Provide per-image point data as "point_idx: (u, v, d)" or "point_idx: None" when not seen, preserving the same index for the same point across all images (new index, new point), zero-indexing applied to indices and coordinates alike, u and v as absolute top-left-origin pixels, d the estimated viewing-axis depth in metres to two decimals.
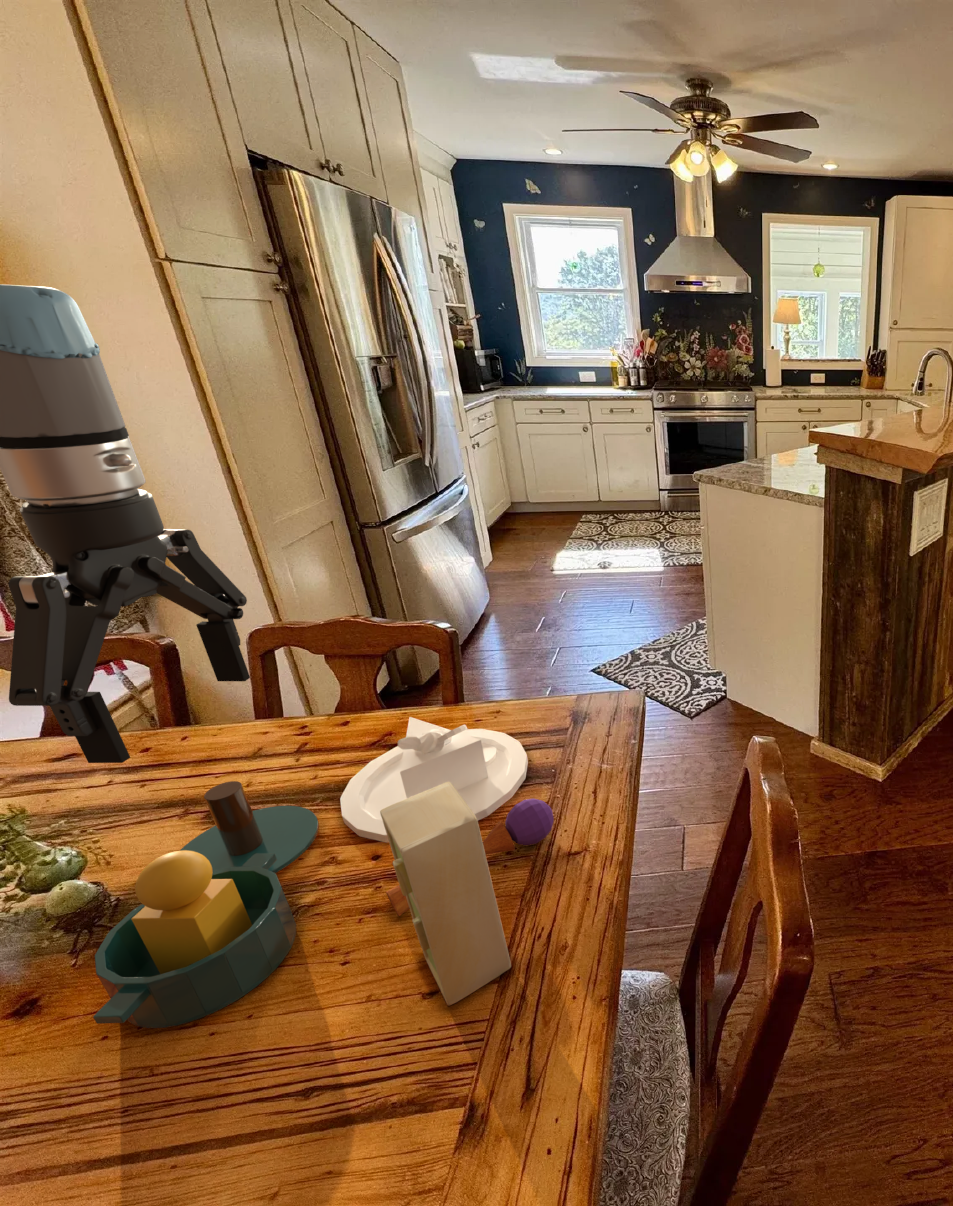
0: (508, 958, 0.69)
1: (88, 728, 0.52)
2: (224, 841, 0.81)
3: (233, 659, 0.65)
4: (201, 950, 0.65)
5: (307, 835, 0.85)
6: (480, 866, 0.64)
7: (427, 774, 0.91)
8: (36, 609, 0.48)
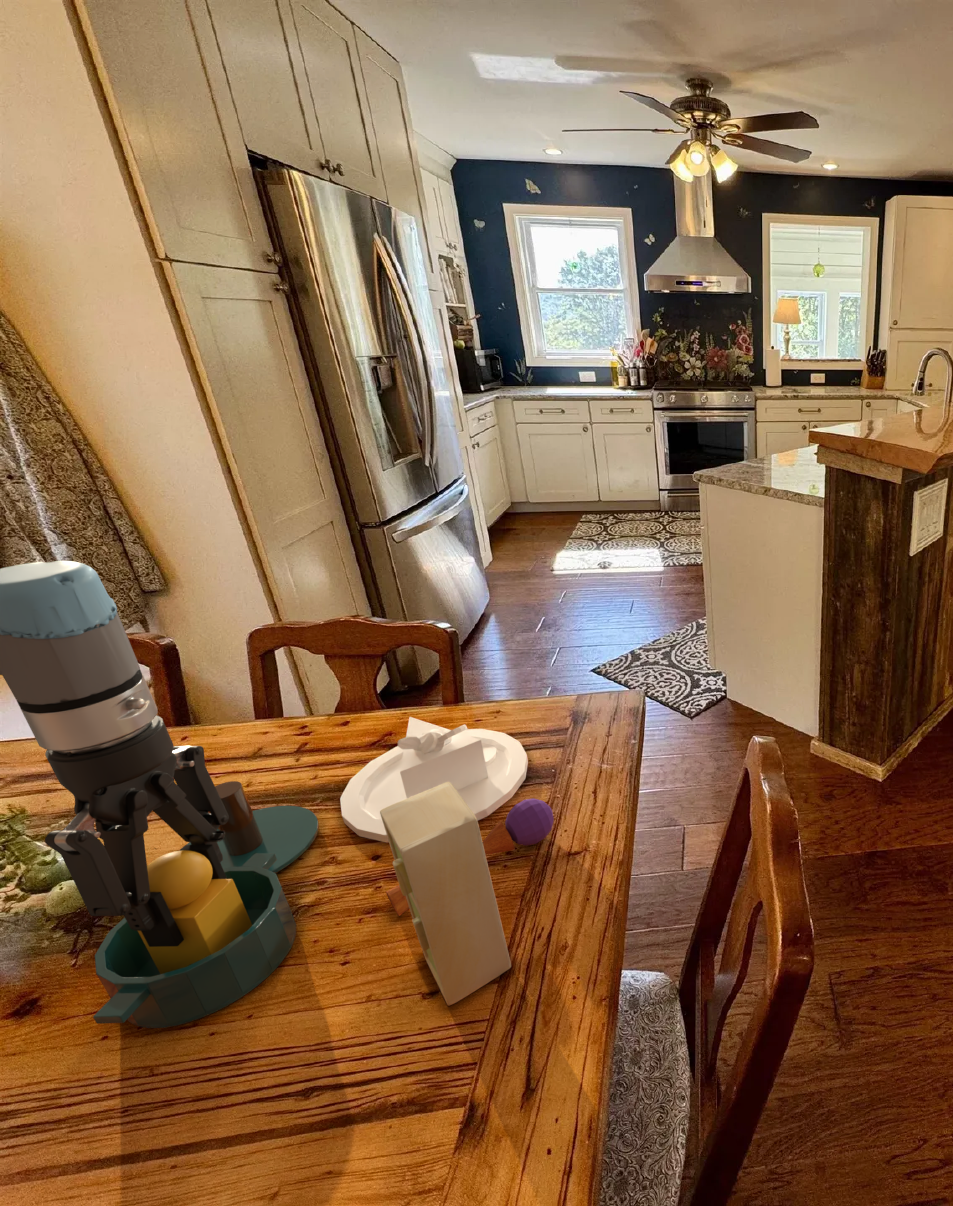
0: (508, 958, 0.69)
1: (151, 923, 0.62)
2: (224, 841, 0.81)
3: (215, 877, 0.68)
4: (201, 950, 0.65)
5: (307, 835, 0.85)
6: (480, 866, 0.64)
7: (427, 774, 0.91)
8: (79, 855, 0.56)
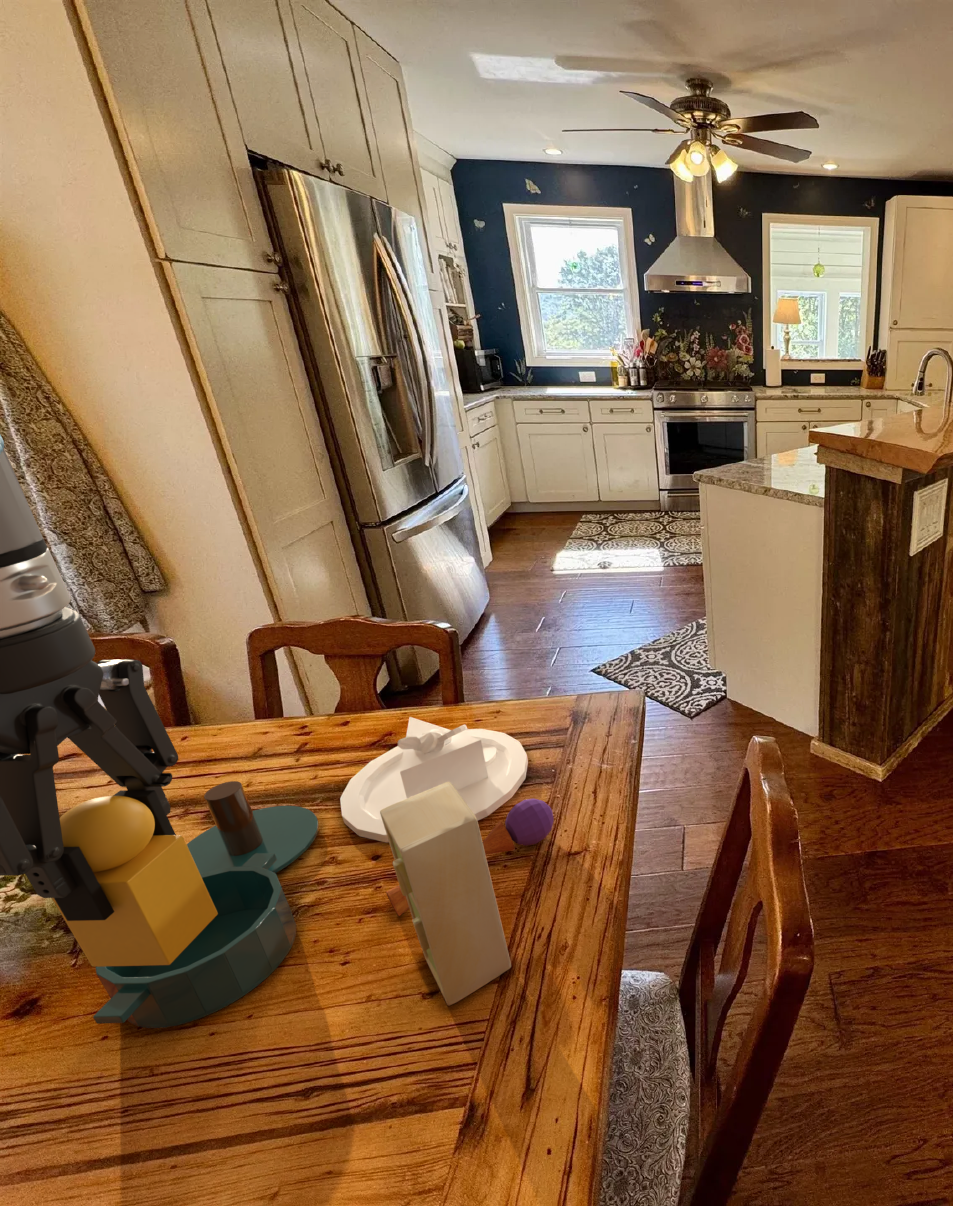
0: (508, 958, 0.69)
1: (66, 888, 0.46)
2: (224, 841, 0.81)
3: (160, 834, 0.53)
4: (138, 926, 0.50)
5: (307, 835, 0.85)
6: (480, 866, 0.64)
7: (427, 774, 0.91)
8: None
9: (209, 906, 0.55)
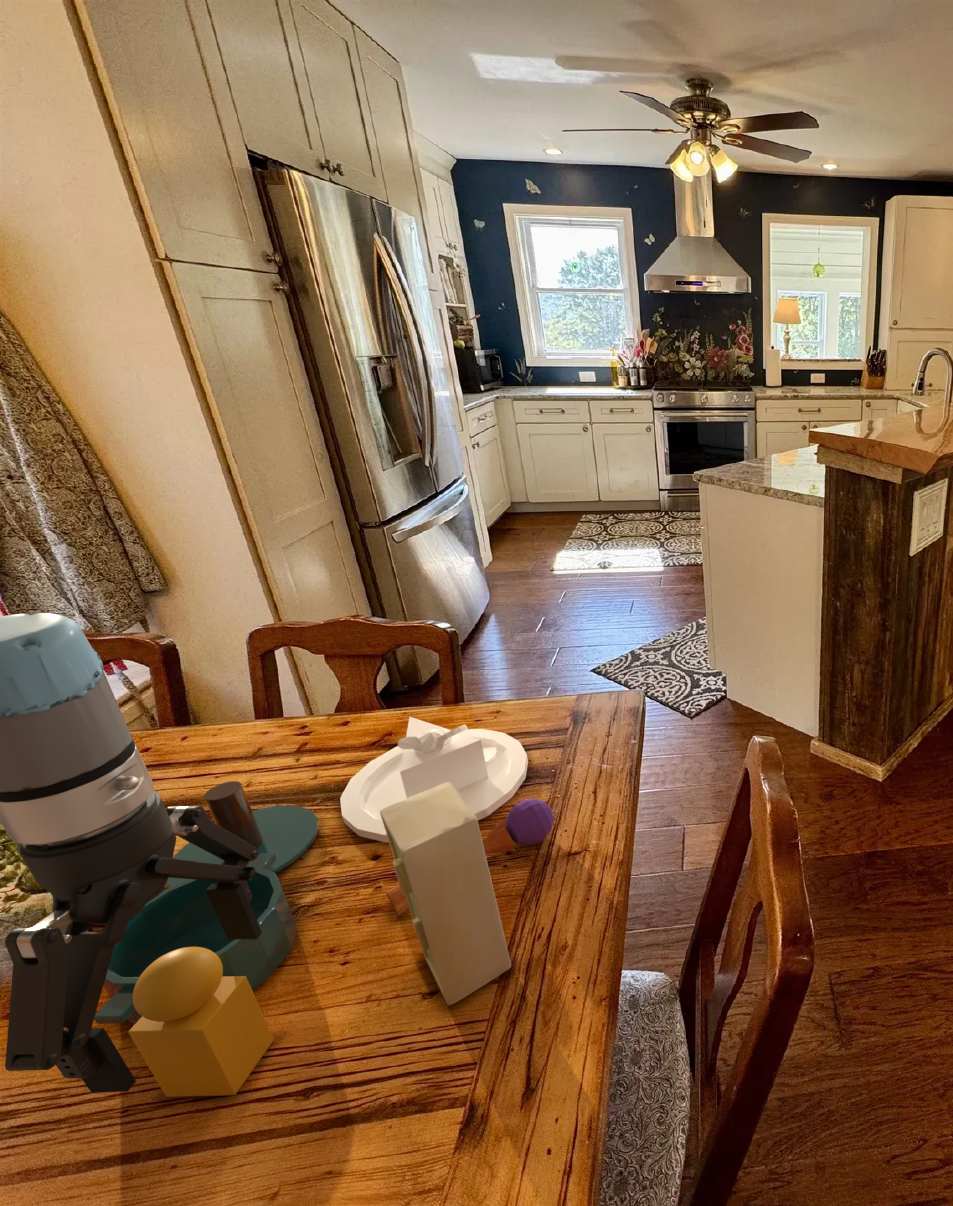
0: (508, 958, 0.69)
1: (91, 1068, 0.48)
2: None
3: (244, 920, 0.61)
4: (209, 1065, 0.56)
5: (307, 835, 0.85)
6: (480, 866, 0.64)
7: (427, 774, 0.91)
8: (35, 966, 0.44)
9: (267, 1034, 0.61)
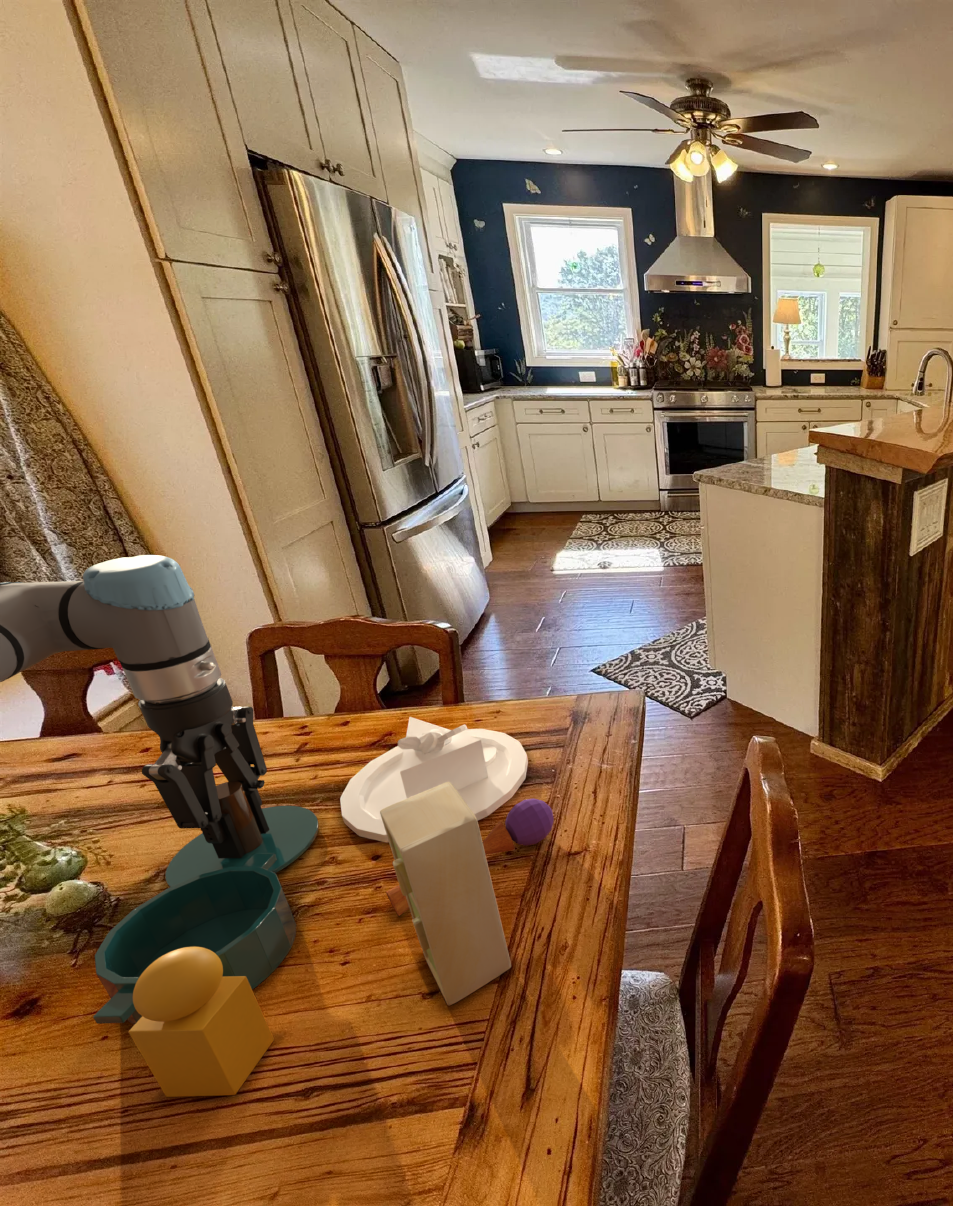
0: (508, 958, 0.69)
1: (221, 838, 0.79)
2: None
3: (256, 818, 0.84)
4: (209, 1065, 0.56)
5: (307, 835, 0.85)
6: (480, 866, 0.64)
7: (427, 774, 0.91)
8: (168, 783, 0.72)
9: (267, 1034, 0.61)
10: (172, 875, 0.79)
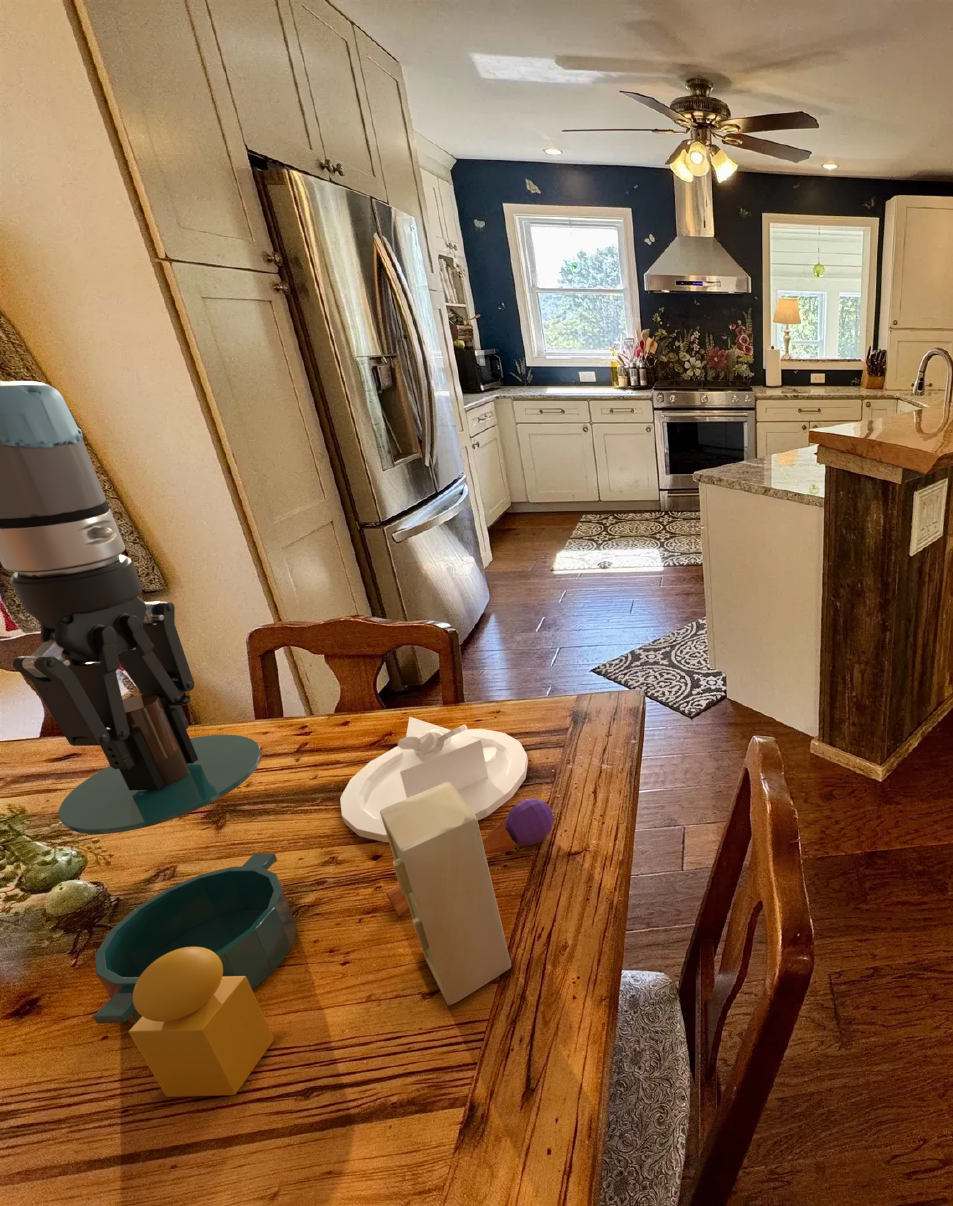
0: (508, 958, 0.69)
1: (131, 762, 0.62)
2: None
3: (180, 743, 0.67)
4: (209, 1065, 0.56)
5: (246, 765, 0.69)
6: (480, 866, 0.64)
7: (427, 774, 0.91)
8: (50, 682, 0.56)
9: (267, 1034, 0.61)
10: (68, 809, 0.62)
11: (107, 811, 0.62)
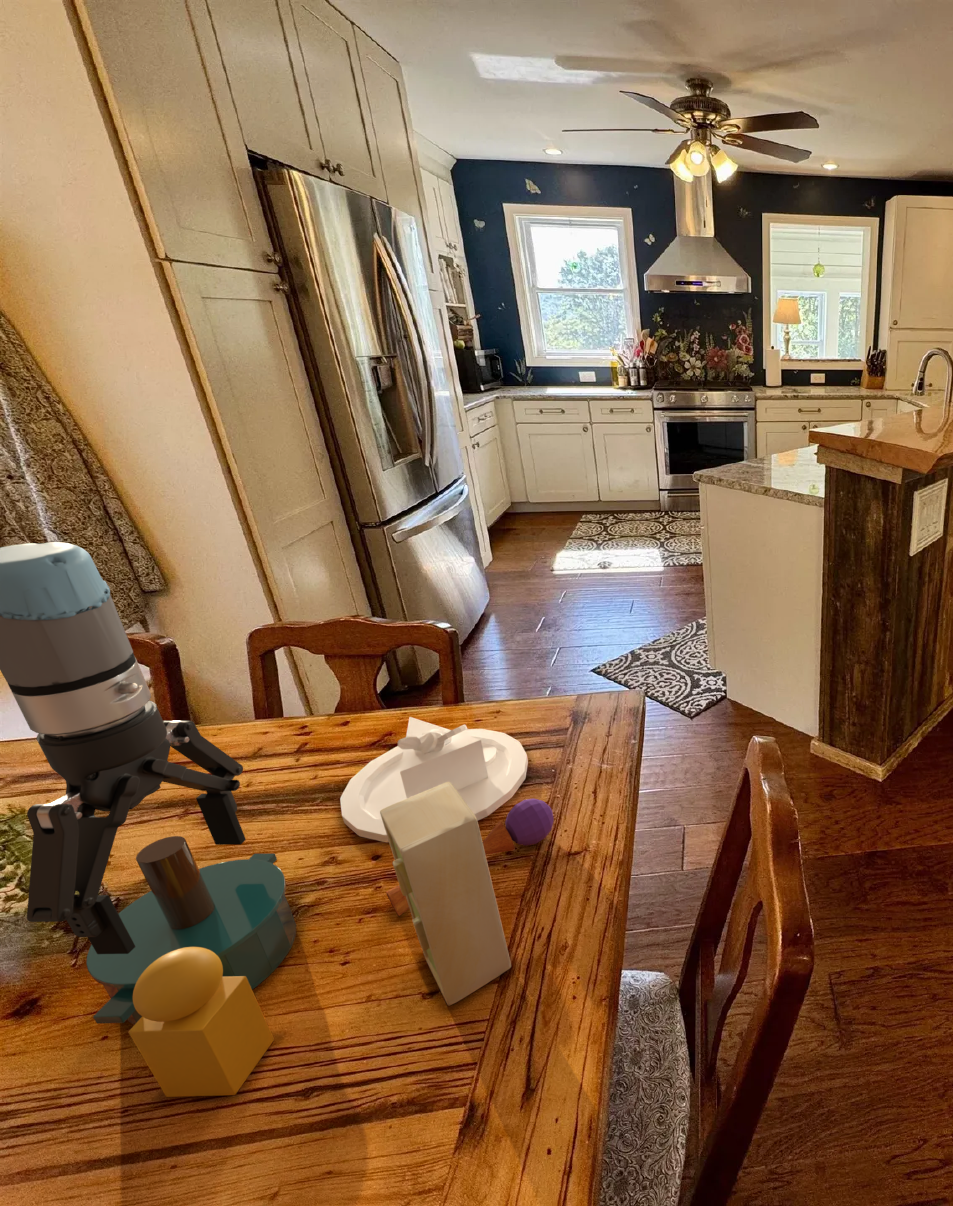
0: (508, 958, 0.69)
1: (97, 929, 0.57)
2: (163, 912, 0.64)
3: (230, 826, 0.70)
4: (209, 1065, 0.56)
5: (270, 899, 0.69)
6: (480, 866, 0.64)
7: (427, 774, 0.91)
8: (52, 835, 0.53)
9: (267, 1034, 0.61)
10: (95, 958, 0.62)
11: (134, 960, 0.62)
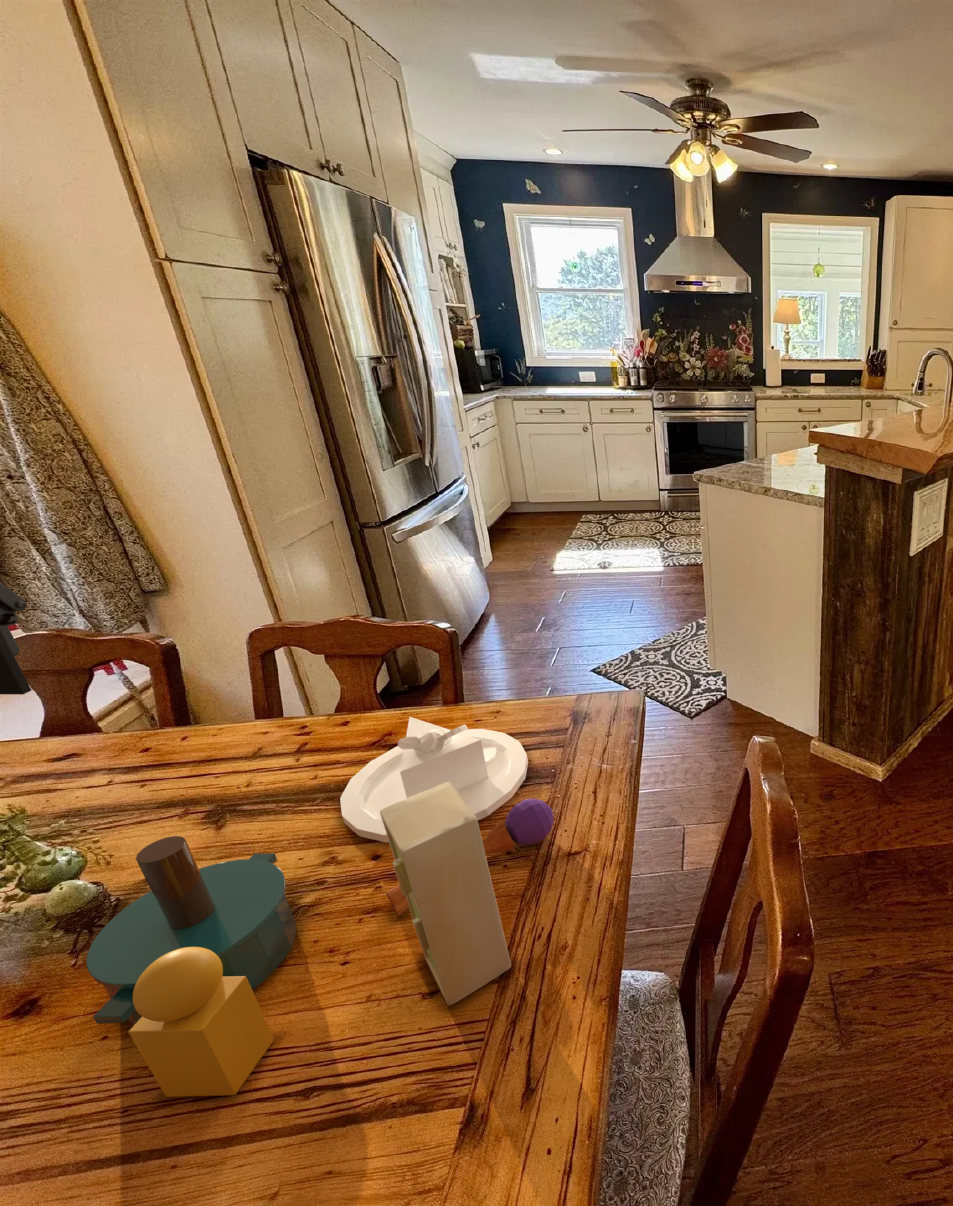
0: (508, 958, 0.69)
1: None
2: (163, 912, 0.64)
3: (6, 670, 0.59)
4: (209, 1065, 0.56)
5: (270, 899, 0.69)
6: (480, 866, 0.64)
7: (427, 774, 0.91)
8: None
9: (267, 1034, 0.61)
10: (95, 958, 0.62)
11: (134, 960, 0.62)
